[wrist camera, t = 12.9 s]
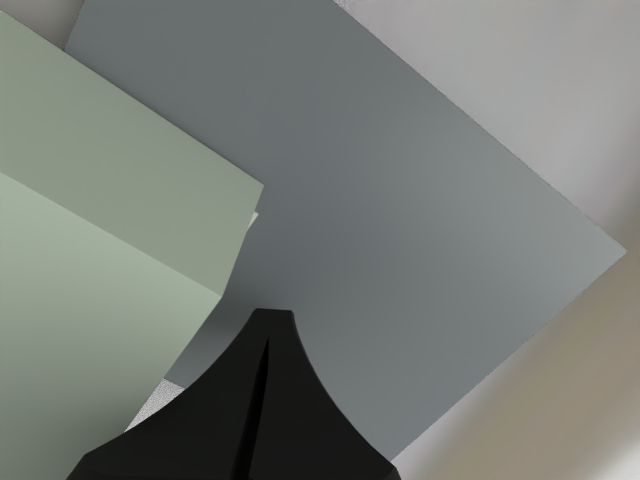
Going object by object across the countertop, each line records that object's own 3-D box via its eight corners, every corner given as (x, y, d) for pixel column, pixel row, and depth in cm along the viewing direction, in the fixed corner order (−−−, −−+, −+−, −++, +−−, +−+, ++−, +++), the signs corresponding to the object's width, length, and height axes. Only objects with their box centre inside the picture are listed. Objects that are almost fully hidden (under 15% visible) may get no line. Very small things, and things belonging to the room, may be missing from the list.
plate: (602, 236, 14) (630, 252, 13) (367, 452, 18) (371, 480, 17) (168, -130, 10) (148, -157, 8) (-8, 264, 14) (-38, 284, 12)
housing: (263, 184, 11) (222, 296, 6) (147, 355, 14) (40, 546, 8) (-28, -9, 9) (-499, -109, 4) (-106, 230, 12) (-466, 377, 6)
